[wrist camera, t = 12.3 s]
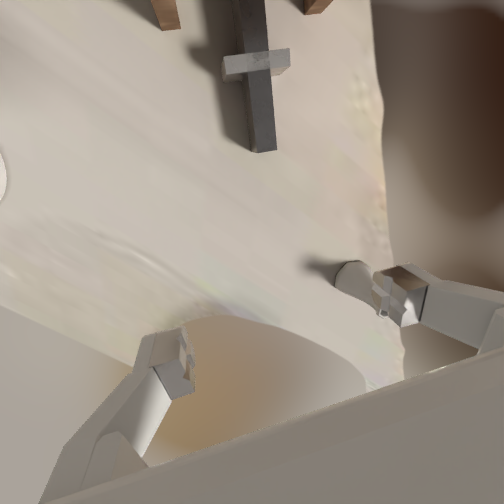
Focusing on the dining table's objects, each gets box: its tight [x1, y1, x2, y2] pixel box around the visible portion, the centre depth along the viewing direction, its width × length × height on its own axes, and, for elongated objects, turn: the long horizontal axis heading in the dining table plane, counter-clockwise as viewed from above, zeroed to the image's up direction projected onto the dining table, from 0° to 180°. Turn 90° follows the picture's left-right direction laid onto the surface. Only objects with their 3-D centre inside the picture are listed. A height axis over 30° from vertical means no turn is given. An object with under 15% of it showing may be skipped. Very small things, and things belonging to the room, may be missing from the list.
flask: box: [335, 261, 389, 318], centre depth 40 cm, size 7×7×10 cm
